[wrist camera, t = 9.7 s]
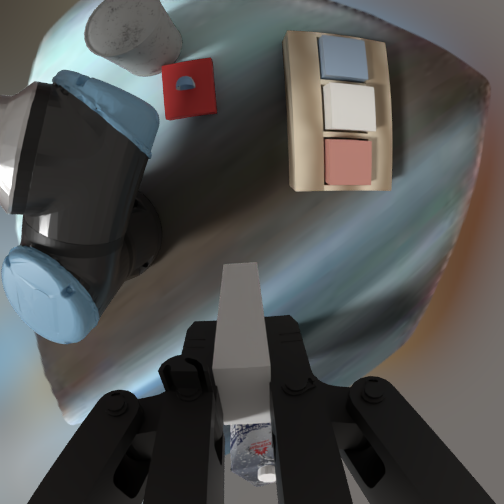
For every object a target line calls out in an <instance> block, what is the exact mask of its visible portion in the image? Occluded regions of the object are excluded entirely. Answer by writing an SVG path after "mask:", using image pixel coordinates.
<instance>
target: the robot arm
mask: <svg viewBox="0 0 504 504" xmlns="http://www.w3.org/2000/svg"><path fill="white" fill-rule="evenodd" d="M52 82H53V84H48V83H42V82H36V81H34V82H33V83H31V84H30V85H29V86H27V87H26V88H25V89H23V90H22V91H20V92H19V93H17V94H15V95H13V96H8V95H7V96H6V95H0V205H1V206H2V208H3V209H4V210H5V212H6V213H7V214H23V222H22V235H21V243H20V245H19V246H17V247H14V248H12V249H11V250H10V252H9V254H8V256H7V257H6V258H5V259H4V262H3V265H2V271H1V272H2V273H1V274H2V283H3V287H4V290H5V293H6V296H7V298H8V300H9V302H10V304H11V305H12V307H13V309H14V310H15V311H16V313H17V314H18V315H19V316H20V318H21V319H22V320H23V321H24V322H25V323H26V324H27V325H28V326H29V327H30V328H31V329H32V330H33V331H35V332H36V333H38V334H39V335H41V336H42V337H44V338H46V339H48V340H51V341H53V342H56V343H61V344H70V343H77V342H79V341H81V340H82V339H84V338H85V337H86V335H87V334H88V333H89V332H90V331H91V330H92V329H93V328H94V327H95V326H96V325H97V323H98V321H99V318H100V317H101V315H102V314H103V312H104V311H105V309H106V308H107V306H108V305H109V303H110V302H111V300H112V299H113V297H114V296H115V294H116V293H117V292H118V290H119V289H120V287H121V286H122V284H123V283H124V282H125V281H127V280H130V279H132V278H134V277H137V276H139V275H140V274H142V273H143V272H144V271H146V270H147V269H148V268H149V267H150V265H151V264H152V262H153V261H154V259H155V258H156V256H157V254H158V252H159V250H160V246H161V241H162V229H161V223H160V220H159V217H158V214H157V212H156V210H155V208H154V207H153V205H152V204H151V202H150V201H149V200H148V199H147V198H146V197H145V196H144V195H143V194H141V193H140V192H139V191H138V189H139V186H140V183H141V180H142V177H143V174H144V171H145V168H146V165H147V162H148V159H151V156H152V153H151V149H152V146H153V143H154V139H155V136H156V134H157V131H158V128H159V115H158V113H157V111H156V110H155V109H154V108H153V107H152V106H151V105H150V104H148V103H147V102H145V101H144V100H142V99H140V98H138V97H136V96H134V95H132V94H130V93H128V92H126V91H124V90H122V89H120V88H118V87H115V86H113V85H111V84H108V83H106V82H103V81H101V80H98V79H95V78H90V77H88V76H85V75H82V74H80V73H77V72H74V71H69V70H61V71H60V72H58V73H57V75H56V76H55V77H53V79H52ZM158 372H159V375H160V377H161V380H162V383H163V385H164V388H165V392H163V393H161V394H159V395H155V396H151V397H146V398H141V399H137V398H136V396H135V395H134V394H133V393H131V392H129V391H126V390H115V391H111V392H109V393H107V394H105V395H104V396H103V397H102V398H101V399H99V401H98V402H97V403H96V405H95V406H94V407H93V409H92V410H91V412H90V413H89V414H88V416H87V417H86V418H85V420H84V421H83V423H82V424H81V426H80V427H79V428H78V430H77V431H76V432H75V434H74V435H73V437H72V438H71V440H70V441H69V442H68V444H67V445H66V447H65V448H64V450H63V451H62V452H61V454H60V455H59V457H58V458H57V460H56V461H55V463H54V464H53V466H52V467H51V468H50V470H49V472H48V473H47V474H46V476H45V477H44V479H43V480H42V482H41V483H40V485H39V486H38V488H37V489H36V491H35V492H34V494H33V495H32V497H31V499H30V500H29V502H28V503H27V504H142V502H143V504H224V457H225V438H224V433H223V421H224V425H235V424H257V423H271V428H272V448H273V455H274V465H275V475H276V485H277V495H278V504H353V502H352V498H351V495H350V491H349V486H348V483H347V479H346V475H345V471H344V467H343V463H342V460H341V458H342V459H343V461H344V463H345V464H346V466H347V468H348V469H349V471H350V473H351V474H352V476H353V477H354V479H355V481H356V482H357V484H358V485H359V487H360V488H361V490H362V492H363V493H364V495H365V497H366V498H367V500H368V501H369V503H370V504H496V503H495V502H494V501H493V500H492V499H491V498H490V496H489V495H488V494H487V493H486V492H485V490H484V489H483V488H482V487H481V486H480V484H479V483H478V482H477V481H476V480H475V478H474V477H473V476H472V475H471V474H470V473H469V471H468V470H467V469H466V468H465V467H464V466H463V464H462V463H461V462H460V461H459V460H458V459H457V458H456V456H455V455H454V454H453V453H452V452H451V451H450V449H449V448H448V447H447V446H446V445H445V444H444V443H443V441H442V440H441V439H440V438H439V437H438V436H437V435H436V434H435V432H434V431H433V430H432V429H431V428H430V427H429V425H428V424H427V423H426V422H425V421H424V420H423V419H422V418H421V416H420V415H419V414H418V413H417V412H416V411H415V410H414V408H413V407H412V406H411V405H410V404H409V403H408V402H407V401H406V400H405V398H404V397H403V396H402V395H401V394H400V393H399V392H398V391H397V389H396V388H395V387H394V386H393V385H392V384H391V383H390V382H388V381H387V380H385V379H382V378H380V377H373V376H368V377H364V378H360V379H359V380H357V381H356V382H354V383H353V385H352V386H351V387H339V386H332V385H328V384H325V383H323V382H321V381H320V380H318V379H317V377H316V376H314V375H313V373H312V371H311V368H310V364H309V361H308V357H307V354H306V350H305V347H304V343H303V340H302V336H301V334H300V329H299V326H298V323H297V322H296V321H295V320H294V319H293V318H292V317H291V316H290V315H284V316H271V317H264V312H263V304H262V297H261V289H260V282H259V274H258V267H257V262H252V263H236V264H224V266H223V275H222V283H221V292H220V300H219V309H218V318H217V321H195V322H194V323H193V324H192V325H191V326H190V327H189V328H188V330H187V333H186V337H185V341H184V346H183V350H182V354H181V355H177V356H175V357H172V358H170V359H168V360H167V361H165V362H164V363H163V364H162V365H161V366H160V368H159V370H158ZM143 499H144V501H143Z"/></svg>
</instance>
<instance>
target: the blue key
mask: <svg viewBox="0 0 504 504" xmlns="http://www.w3.org/2000/svg"><path fill="white" fill-rule="evenodd" d="M317 46H318V57H319V68H320V79H323V80H336V81H347V82H356V83H361V82H364V81H366V80H369V79H368V69H367V59H366V50H365V43H364V41H363V40H357V39H351V38H344V37H336V36H328V35H322V36H321V37H320V38H319V39H318V40H317Z"/></svg>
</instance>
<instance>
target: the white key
mask: <svg viewBox="0 0 504 504" xmlns="http://www.w3.org/2000/svg"><path fill="white" fill-rule="evenodd" d="M323 92H324V110H325V129H330V130H351V131H365V132H370V131H376V115H375V96H374V87H369V86H361V85H353V84H343V83H332V82H330V83H328V84H326V85H325V86H323Z"/></svg>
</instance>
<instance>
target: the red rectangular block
mask: <svg viewBox="0 0 504 504" xmlns="http://www.w3.org/2000/svg"><path fill="white" fill-rule="evenodd" d="M162 81H163V94H164V106H165V117H166V119H167V120H175V119H181V118H187V117H194V116H201V115H208V114H216V113H217V105H216V94H215V83H214V72H213V62H212V59H211V58H203V59H197V60H191V61H185V62H179V63H174V64H169V65H164V66H162Z"/></svg>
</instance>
